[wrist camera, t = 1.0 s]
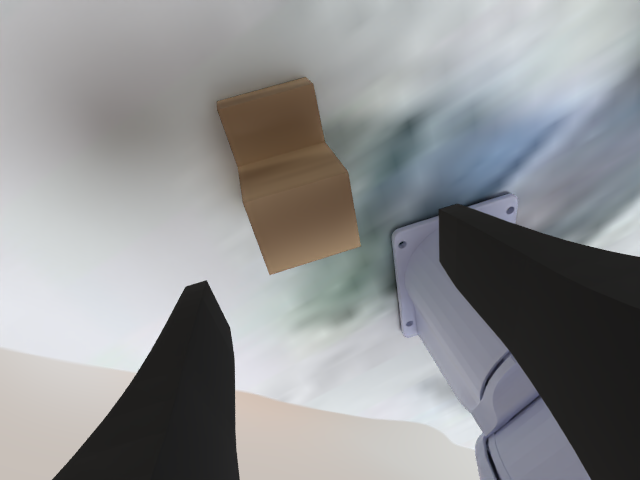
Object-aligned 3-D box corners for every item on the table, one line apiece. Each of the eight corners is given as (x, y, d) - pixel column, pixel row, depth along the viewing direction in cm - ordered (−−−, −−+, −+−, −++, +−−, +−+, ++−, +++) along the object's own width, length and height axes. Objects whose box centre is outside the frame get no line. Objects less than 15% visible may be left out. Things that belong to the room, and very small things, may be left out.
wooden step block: (330, 195, 20) (360, 246, 16) (257, 216, 20) (269, 275, 15) (305, 77, 16) (336, 104, 12) (216, 101, 16) (218, 136, 12)
